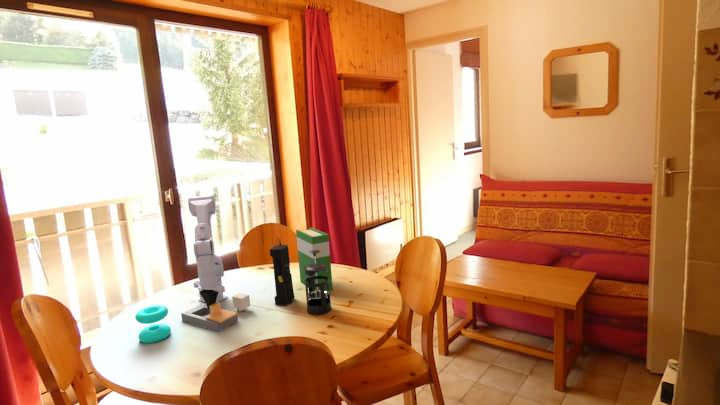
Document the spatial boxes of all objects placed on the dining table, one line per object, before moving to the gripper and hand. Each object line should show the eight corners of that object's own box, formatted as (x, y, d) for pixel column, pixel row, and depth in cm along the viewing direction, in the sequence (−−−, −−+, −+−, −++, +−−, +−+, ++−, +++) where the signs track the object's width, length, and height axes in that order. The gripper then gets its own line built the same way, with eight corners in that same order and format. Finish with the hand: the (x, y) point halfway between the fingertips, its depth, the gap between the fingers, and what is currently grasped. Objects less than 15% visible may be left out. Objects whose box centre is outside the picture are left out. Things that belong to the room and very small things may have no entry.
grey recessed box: (182, 321, 158) (181, 313, 158) (202, 311, 166) (201, 304, 165) (218, 331, 148) (217, 323, 147) (238, 321, 155) (237, 313, 154)
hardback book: (300, 282, 192) (295, 230, 188) (315, 278, 196) (311, 227, 192) (316, 293, 177) (311, 237, 173) (332, 289, 180) (328, 234, 177)
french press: (337, 311, 158) (332, 251, 154) (314, 318, 153) (308, 256, 150) (322, 301, 168) (318, 245, 164) (300, 308, 163) (295, 249, 160)
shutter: (205, 318, 151) (204, 307, 151) (222, 310, 158) (221, 300, 157) (220, 322, 147) (219, 311, 146) (237, 314, 153) (236, 303, 153)
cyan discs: (138, 306, 148) (169, 302, 151) (142, 333, 150) (173, 328, 152) (131, 318, 139) (165, 312, 141) (136, 346, 140) (169, 341, 143)
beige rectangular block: (233, 311, 164) (232, 296, 163) (241, 307, 167) (240, 292, 166) (243, 313, 161) (241, 298, 160) (250, 309, 165) (249, 294, 164)
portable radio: (288, 306, 165) (282, 244, 161) (273, 306, 167) (267, 244, 163) (295, 298, 173) (289, 238, 169) (281, 298, 174) (275, 238, 170)
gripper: (184, 273, 153) (189, 309, 155) (211, 278, 145) (216, 316, 148) (201, 267, 159) (205, 302, 161) (227, 272, 151) (232, 308, 153)
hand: (211, 308), depth 155 cm, fingers closed
